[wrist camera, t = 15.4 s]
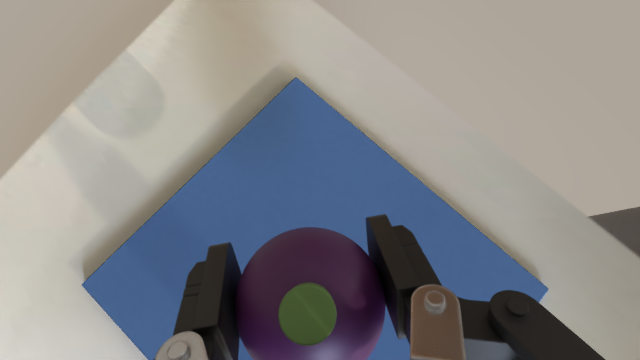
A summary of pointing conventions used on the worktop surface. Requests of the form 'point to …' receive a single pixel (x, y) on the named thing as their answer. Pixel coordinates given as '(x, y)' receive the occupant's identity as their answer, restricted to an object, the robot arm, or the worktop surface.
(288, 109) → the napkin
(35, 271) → the worktop surface
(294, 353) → the eggplant
